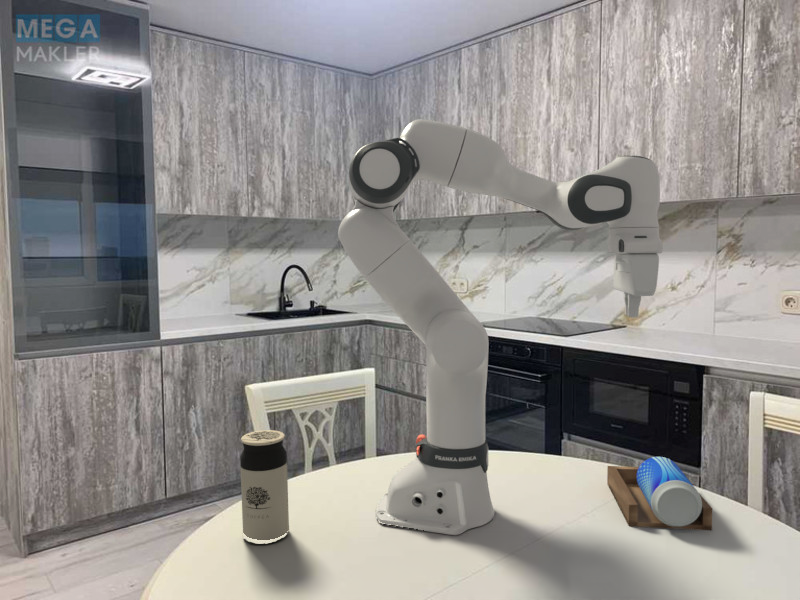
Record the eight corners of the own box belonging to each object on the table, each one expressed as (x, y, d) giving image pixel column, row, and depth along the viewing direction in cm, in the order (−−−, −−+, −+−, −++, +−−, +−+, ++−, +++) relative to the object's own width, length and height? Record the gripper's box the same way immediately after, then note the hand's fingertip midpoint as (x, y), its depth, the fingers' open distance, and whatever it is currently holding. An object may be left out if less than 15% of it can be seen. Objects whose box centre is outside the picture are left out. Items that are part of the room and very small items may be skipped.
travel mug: (261, 522, 110) (257, 427, 109) (297, 529, 107) (294, 432, 106) (233, 541, 103) (229, 440, 102) (272, 549, 100) (268, 445, 99)
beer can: (706, 486, 102) (680, 454, 117) (654, 480, 103) (635, 450, 119) (702, 533, 102) (676, 495, 118) (651, 527, 104) (632, 491, 119)
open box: (628, 526, 106) (629, 504, 106) (607, 484, 126) (607, 465, 125) (711, 530, 104) (712, 508, 104) (677, 487, 124) (677, 468, 123)
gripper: (606, 244, 123) (604, 311, 124) (627, 243, 102) (625, 322, 104) (638, 244, 122) (636, 311, 123) (665, 242, 101) (663, 323, 103)
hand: (631, 316), depth 113 cm, fingers closed
